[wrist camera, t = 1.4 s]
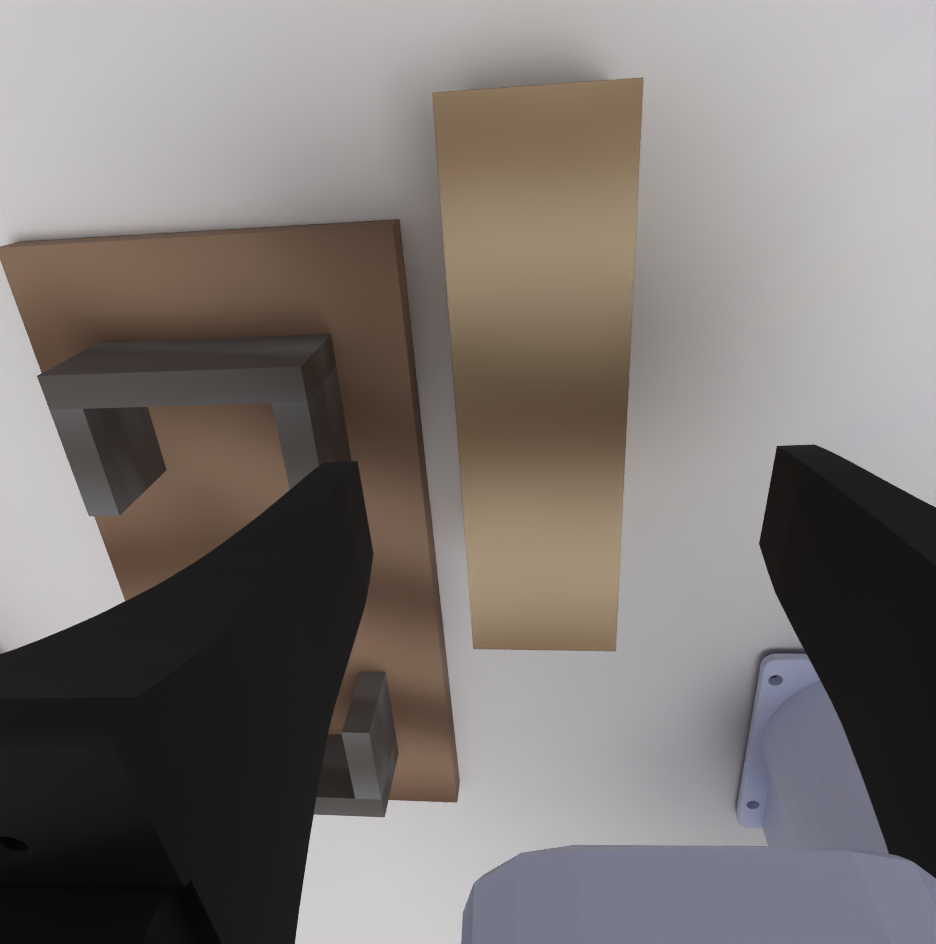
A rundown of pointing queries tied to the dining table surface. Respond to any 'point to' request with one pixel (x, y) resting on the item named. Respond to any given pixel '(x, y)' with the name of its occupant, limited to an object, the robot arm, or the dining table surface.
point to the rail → (541, 349)
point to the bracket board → (257, 441)
